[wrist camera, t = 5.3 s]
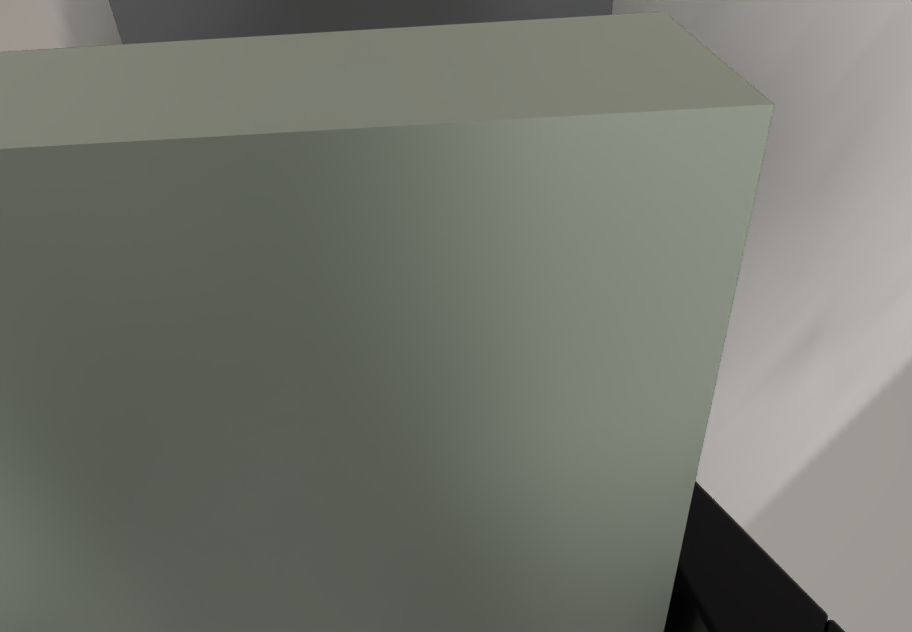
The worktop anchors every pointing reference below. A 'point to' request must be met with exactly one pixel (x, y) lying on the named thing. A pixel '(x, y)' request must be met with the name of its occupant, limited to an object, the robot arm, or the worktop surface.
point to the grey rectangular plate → (322, 16)
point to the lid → (364, 325)
